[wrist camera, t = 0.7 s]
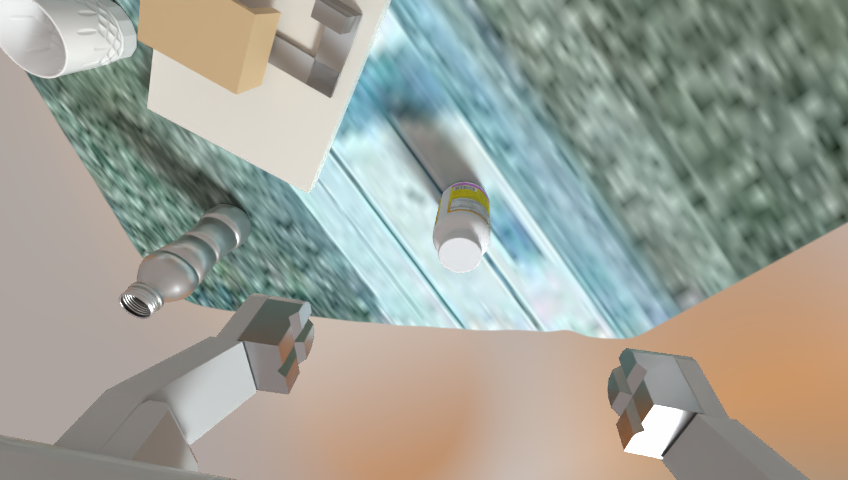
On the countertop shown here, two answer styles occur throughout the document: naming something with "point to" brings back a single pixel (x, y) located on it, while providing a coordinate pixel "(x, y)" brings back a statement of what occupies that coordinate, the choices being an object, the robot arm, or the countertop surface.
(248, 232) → the plastic bottle
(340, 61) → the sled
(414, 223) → the countertop surface
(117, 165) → the countertop surface
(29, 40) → the white cup
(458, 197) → the supplement bottle
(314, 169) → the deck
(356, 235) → the countertop surface
